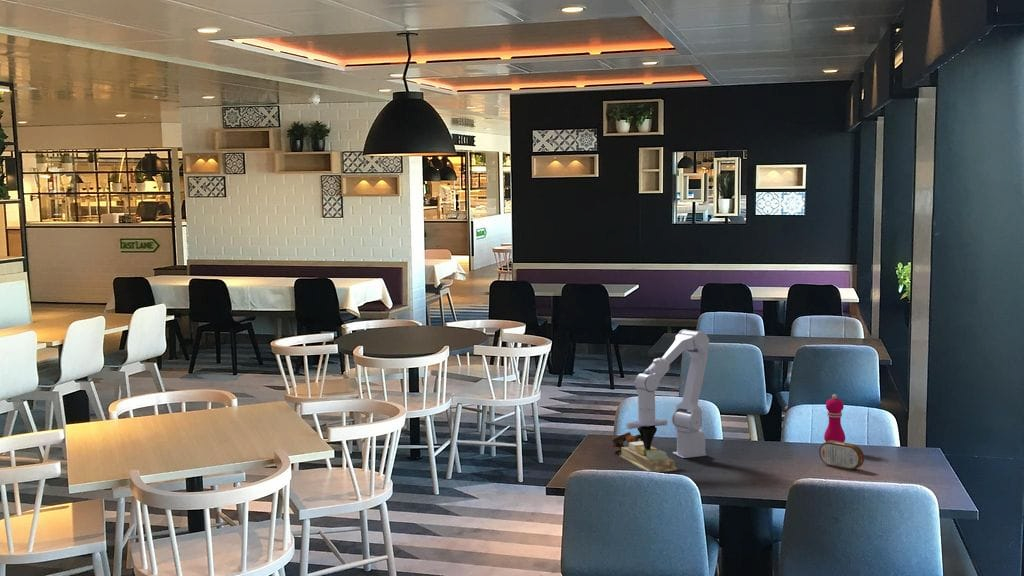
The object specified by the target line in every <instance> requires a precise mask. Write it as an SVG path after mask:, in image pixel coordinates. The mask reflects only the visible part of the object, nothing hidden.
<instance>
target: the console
mask: <svg viewBox="0 0 1024 576" xmlns="http://www.w3.org/2000/svg"><path fill="white" fill-rule="evenodd" d="M620 450H621V452H620V453H621V455H620V454H619V456H618V457H619V458H620V459H623V460H624V461H625V462H628V463H630V464H632V465H633V466H635V467H637V468H638V469H641V470H643V471H645V470H646V471H645V472H647V471H657V472H656V473H664V472H673V471H678V468H677V467H676V460H675V459H673V458H672V457H669V456H667V459H666V460H657V461H652V460H650V459H648V458H647V456H642V455H640V454H638V452H634V451H632V450H630V449H629V446H628V447H627V446H624V447H621V449H620Z"/></svg>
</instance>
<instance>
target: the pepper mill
mask: <svg viewBox="0 0 1024 576" xmlns="http://www.w3.org/2000/svg"><path fill="white" fill-rule="evenodd" d="M825 408H826V410H827V414H826V415H827V417H828V424H827V426H826V429H825V431H824V434H823V439H824V441H825V442H827V441H829V440H833V441H839V442H844V443H845V441H846V435H845V431H844V429H843V427H842V424H841V423H842V421H841V420H842V418H841V417H843V415H842V414H843V412H842V411H843V410H844V402H843V401H842V400H841V399H839V398H838V394H836V393H834V394H832V396H831V398H829V399H828V400H827V401H826V403H825Z"/></svg>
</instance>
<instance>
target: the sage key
mask: <svg viewBox="0 0 1024 576" xmlns="http://www.w3.org/2000/svg"><path fill="white" fill-rule="evenodd" d="M667 457H668V454H667V452H666V451H663V450H661V449H657V450H653V451H647V458H648V459H650V460H652V461H657V460H666V459H667Z"/></svg>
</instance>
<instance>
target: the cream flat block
mask: <svg viewBox="0 0 1024 576" xmlns="http://www.w3.org/2000/svg"><path fill="white" fill-rule="evenodd" d="M637 449H638V454H640V455H642V456H647V451H653V450H658V448H656V447H655V446H652V445H651V448H649V449H646V448H644V446H643V447H637Z"/></svg>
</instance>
